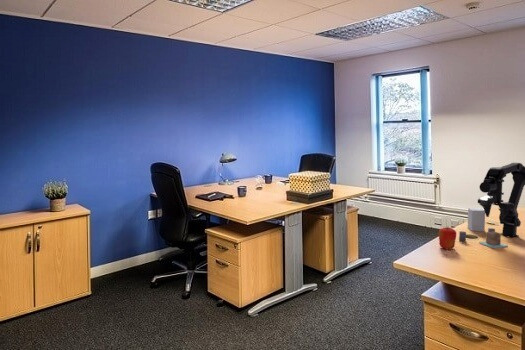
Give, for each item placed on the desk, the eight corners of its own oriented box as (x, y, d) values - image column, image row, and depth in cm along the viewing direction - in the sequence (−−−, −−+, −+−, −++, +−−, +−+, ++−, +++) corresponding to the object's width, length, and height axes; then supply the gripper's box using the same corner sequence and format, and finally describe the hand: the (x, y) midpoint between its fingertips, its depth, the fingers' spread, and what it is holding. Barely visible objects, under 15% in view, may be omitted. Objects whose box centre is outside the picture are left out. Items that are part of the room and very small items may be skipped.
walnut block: (493, 242, 201) (493, 231, 200) (500, 244, 197) (500, 233, 196) (486, 243, 200) (486, 232, 199) (493, 245, 196) (493, 234, 195)
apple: (438, 245, 201) (438, 223, 200) (455, 246, 198) (456, 224, 196) (438, 249, 193) (438, 227, 192) (456, 251, 190) (457, 229, 188)
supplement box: (484, 231, 223) (485, 210, 222) (471, 231, 225) (472, 210, 223) (480, 228, 230) (481, 208, 229) (467, 227, 232) (467, 207, 230)
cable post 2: (491, 236, 213) (491, 228, 212) (495, 238, 210) (496, 229, 209) (486, 237, 212) (486, 228, 212) (491, 238, 209) (491, 229, 209)
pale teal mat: (493, 241, 204) (493, 240, 204) (507, 246, 195) (507, 245, 195) (479, 243, 202) (479, 242, 202) (493, 248, 193) (493, 247, 193)
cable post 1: (462, 239, 209) (463, 231, 208) (467, 241, 206) (467, 232, 205) (457, 240, 208) (458, 231, 207) (462, 242, 205) (462, 233, 204)
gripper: (470, 189, 210) (468, 216, 212) (497, 194, 192) (496, 224, 194) (486, 187, 213) (485, 214, 215) (515, 193, 195) (513, 222, 197)
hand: (494, 218), depth 205 cm, fingers open, 9 cm apart
